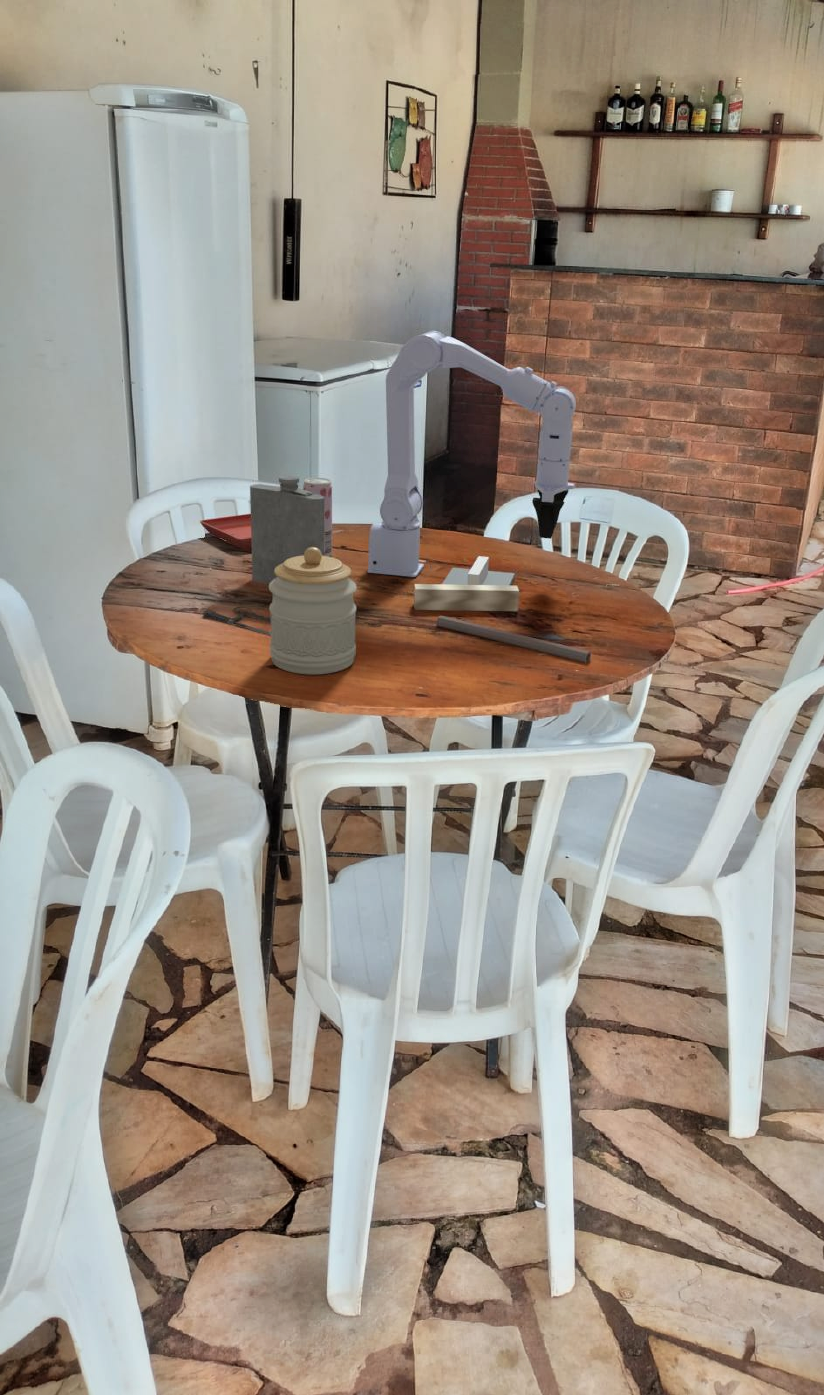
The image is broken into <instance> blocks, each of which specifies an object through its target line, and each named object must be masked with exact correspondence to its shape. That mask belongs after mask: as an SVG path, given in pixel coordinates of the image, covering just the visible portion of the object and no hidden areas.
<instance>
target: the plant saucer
mask: <svg viewBox="0 0 824 1395" xmlns="http://www.w3.org/2000/svg"><path fill="white" fill-rule="evenodd" d="M199 523H200V524H201V525H202V527H203V528H204V529H205V530H206V531H207V532H208V533H209V534H210V536H213V537H214V538H215V537H216V538H218V539H219V538H222V539H224V540H226V541H227V542H226V541H225V542H226V543H228V542H229V543H228V544H230V543H231V544H230V545H232V544H233V545H232V546H234V545H235V546H234V547H236V546H237V547H236V548H238V547H239V549H240V548H241V549H240V550H243V549H247V550H251V549H250V548H252V543H251V513H245V514H237V515H230V516H224V517H216V518H207V519H201V520H199ZM236 533H237V534H236ZM231 534H234V535H231ZM222 539H221V540H222ZM224 540H223V541H224Z"/></svg>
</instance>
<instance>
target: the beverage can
mask: <svg viewBox="0 0 824 1395" xmlns="http://www.w3.org/2000/svg"><path fill="white" fill-rule="evenodd" d="M302 486H303V487H302V488H303V489H302V490H306V491H309V492H312V493H314V494H317V495H321V496H324V497H325V502H324V556H328V557H331V556H332V554H333V485H332V480H330V479H329V478H325V477H324V478H323V477H310V478H306V479H304V480H303V485H302Z"/></svg>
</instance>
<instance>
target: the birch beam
mask: <svg viewBox="0 0 824 1395" xmlns="http://www.w3.org/2000/svg"><path fill="white" fill-rule="evenodd" d="M413 594H414V595H413V606H414V607H413V608H414V610H416V611H417V610H418V611H419V610H420V611H421V610H422V611H468V612H470V611H472V612H474V611H478V612H479V611H481V612H483V611H484V612H488V611H489V612H519V598H520V589H519V587H518V585H511V586H509V585H446V584H442V583H439V584H436V583H435V584H434V583H433V584H432V583H431V584H429V583H414V593H413Z"/></svg>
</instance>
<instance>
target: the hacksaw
mask: <svg viewBox="0 0 824 1395" xmlns="http://www.w3.org/2000/svg"><path fill="white" fill-rule="evenodd" d="M241 608H242V609H243V608H244V609H248V610H249V611H248V610H238V609H241ZM233 610H234V612H235V613H237V616H236V617H233V618H231V617H228V616H225V615H222V614H220V613H217V612H216V611H215V610H212V609H206V610H205V611H203V612H202V614H203V616H202V617H203V618H206V619H210V620H214V621H215V620H216V621H217V622H221V623H226V624H229V625H232V626H233V625H235V626H237V627H240V628H244V629H248V630H250V631H253V632H257V633H260V634H263V635H266V636H269V637H271V631H266V630H263V629H261V628H257V627H254V626H252V625H248V624H244V623H241V622H240V621H243V620H244V618H245V617H248V618H251V619H254V620H258V621H262V622H266V623H268V624H271V617H266V616H264V615H260V614H257V613H254V612H252V610H251V609H250V608H249V607H246V606H235V607H234V609H233Z"/></svg>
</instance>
